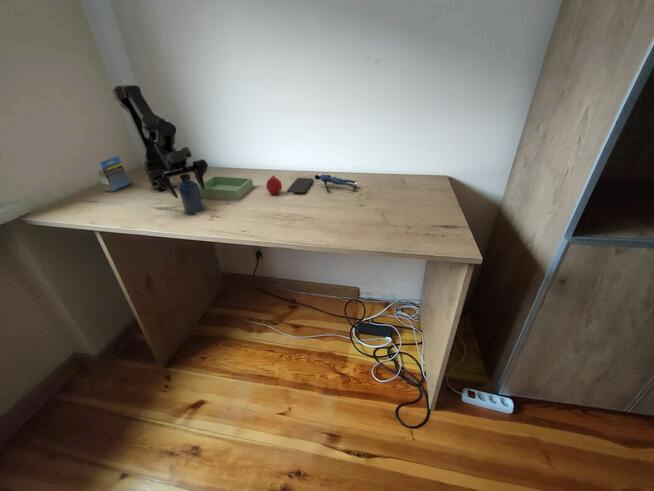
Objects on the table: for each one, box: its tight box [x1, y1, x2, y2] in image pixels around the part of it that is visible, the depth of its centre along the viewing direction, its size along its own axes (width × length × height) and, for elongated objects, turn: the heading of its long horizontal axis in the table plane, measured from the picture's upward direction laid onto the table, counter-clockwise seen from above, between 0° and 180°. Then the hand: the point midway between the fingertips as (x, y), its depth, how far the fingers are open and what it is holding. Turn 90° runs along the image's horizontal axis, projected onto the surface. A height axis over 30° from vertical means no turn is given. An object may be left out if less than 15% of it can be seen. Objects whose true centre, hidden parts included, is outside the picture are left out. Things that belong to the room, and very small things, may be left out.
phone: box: [286, 177, 314, 195], centre depth 122 cm, size 7×1×15 cm
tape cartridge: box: [97, 155, 131, 193], centre depth 122 cm, size 9×4×12 cm, turn 164°
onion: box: [265, 174, 283, 196], centre depth 113 cm, size 6×6×8 cm
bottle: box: [177, 173, 205, 216], centre depth 102 cm, size 6×6×13 cm
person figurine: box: [314, 174, 359, 193], centre depth 119 cm, size 11×4×18 cm
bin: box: [198, 175, 254, 201], centre depth 117 cm, size 17×13×4 cm
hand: (191, 193), depth 101 cm, fingers open, 9 cm apart
